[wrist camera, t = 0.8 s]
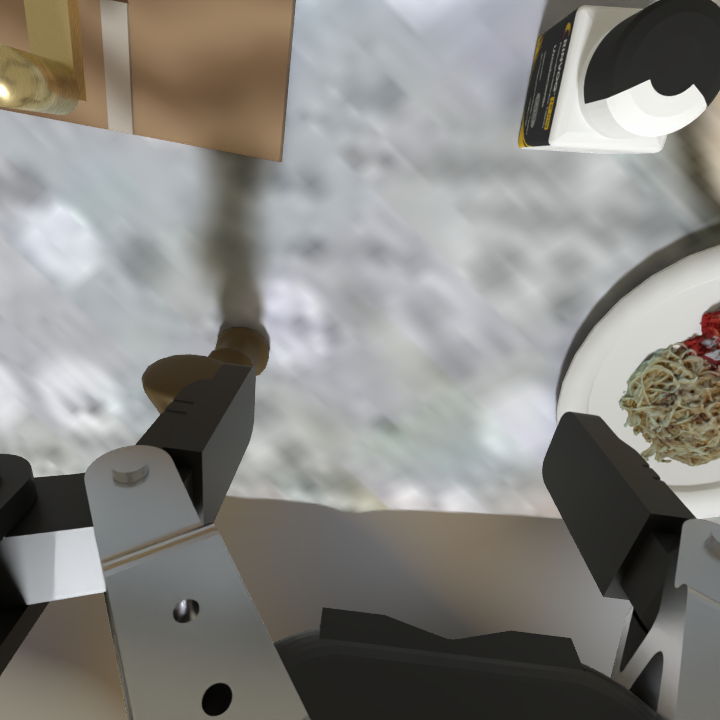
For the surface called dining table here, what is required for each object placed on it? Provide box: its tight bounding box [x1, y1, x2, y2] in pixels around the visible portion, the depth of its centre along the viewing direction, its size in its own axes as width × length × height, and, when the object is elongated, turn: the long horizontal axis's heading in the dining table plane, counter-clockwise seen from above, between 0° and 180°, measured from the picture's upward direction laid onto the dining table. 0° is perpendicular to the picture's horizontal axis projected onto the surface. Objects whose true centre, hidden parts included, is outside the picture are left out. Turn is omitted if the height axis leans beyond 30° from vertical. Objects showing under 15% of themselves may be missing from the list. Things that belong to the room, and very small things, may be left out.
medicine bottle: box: [518, 0, 720, 154], centre depth 26 cm, size 7×7×12 cm
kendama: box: [142, 327, 269, 415], centre depth 32 cm, size 6×10×20 cm, turn 168°
